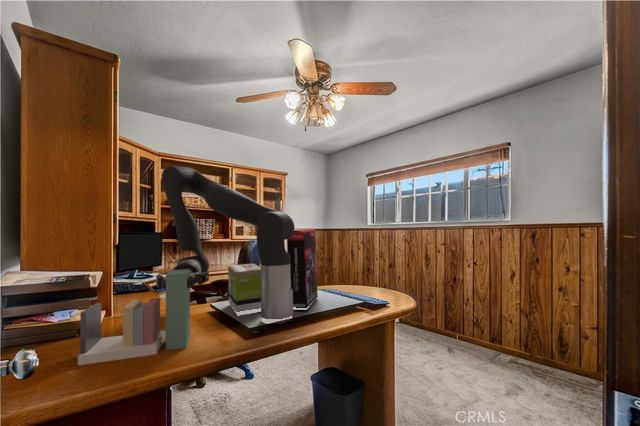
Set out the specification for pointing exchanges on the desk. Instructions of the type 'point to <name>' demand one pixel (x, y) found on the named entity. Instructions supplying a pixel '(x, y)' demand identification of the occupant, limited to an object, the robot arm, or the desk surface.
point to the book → (177, 309)
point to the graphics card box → (303, 267)
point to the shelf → (117, 351)
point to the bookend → (90, 327)
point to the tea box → (244, 287)
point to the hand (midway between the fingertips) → (177, 284)
